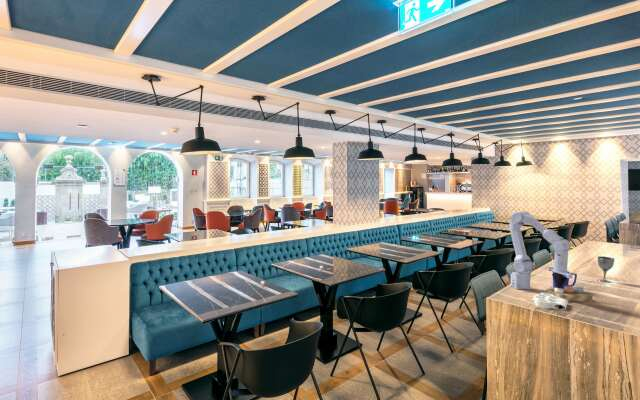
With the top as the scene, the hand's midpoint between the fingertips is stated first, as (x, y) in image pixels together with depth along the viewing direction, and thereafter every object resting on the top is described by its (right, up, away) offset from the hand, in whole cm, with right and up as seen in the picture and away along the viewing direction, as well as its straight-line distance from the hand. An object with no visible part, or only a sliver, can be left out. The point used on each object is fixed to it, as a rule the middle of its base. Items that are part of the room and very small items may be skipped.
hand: (559, 287), depth 173 cm
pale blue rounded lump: (+10, -3, 0) cm, 11 cm away
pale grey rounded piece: (0, -4, 0) cm, 4 cm away
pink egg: (+5, -3, 0) cm, 6 cm away
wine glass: (+54, -5, +34) cm, 64 cm away
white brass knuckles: (-12, -6, -10) cm, 17 cm away
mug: (+15, -5, +16) cm, 22 cm away
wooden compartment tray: (+5, -5, 0) cm, 7 cm away
